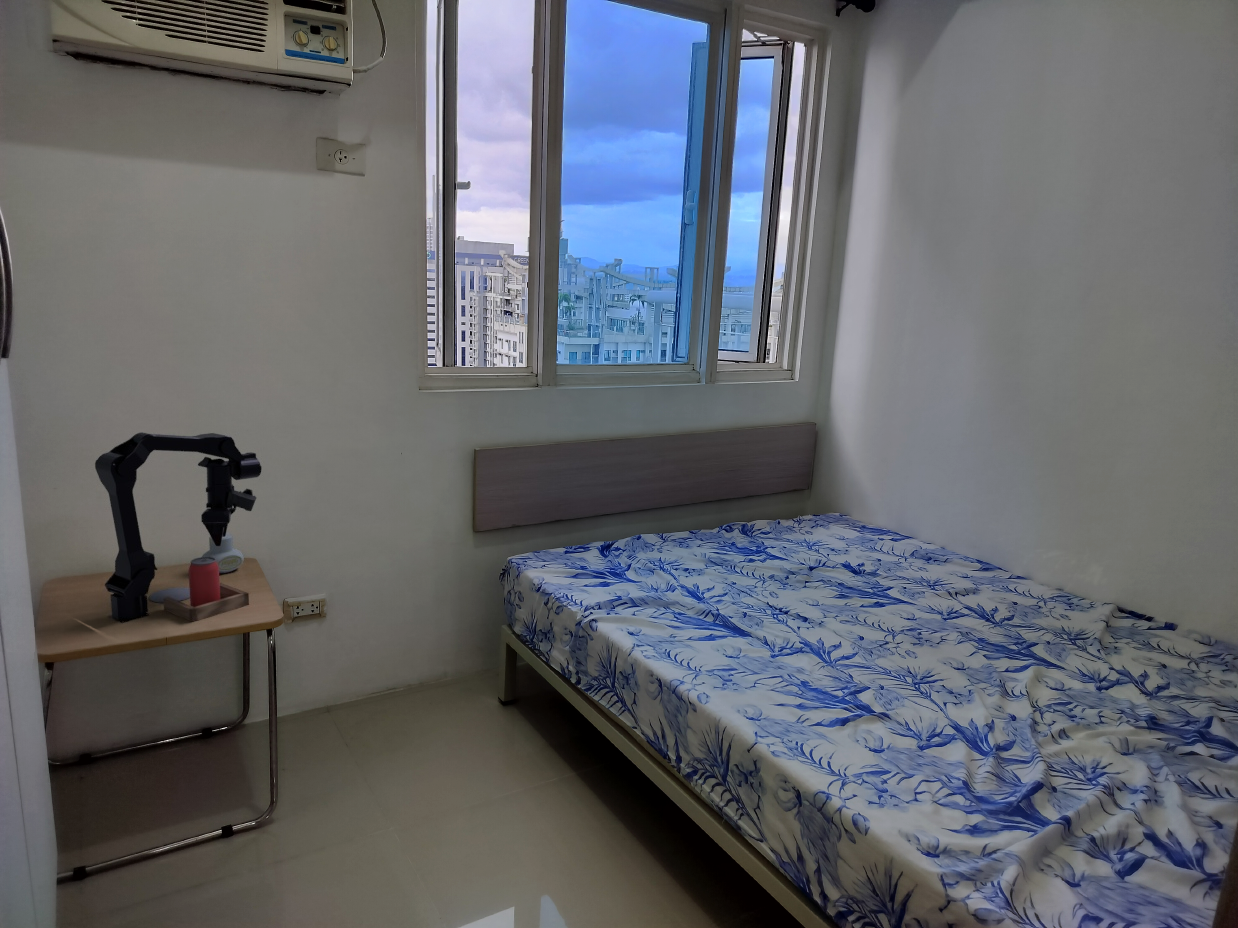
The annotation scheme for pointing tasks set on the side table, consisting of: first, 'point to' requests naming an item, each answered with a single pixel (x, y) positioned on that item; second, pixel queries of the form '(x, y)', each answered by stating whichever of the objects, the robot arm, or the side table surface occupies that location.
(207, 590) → the beer can
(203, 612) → the tray
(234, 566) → the air freshener
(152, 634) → the side table surface
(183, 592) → the coaster
